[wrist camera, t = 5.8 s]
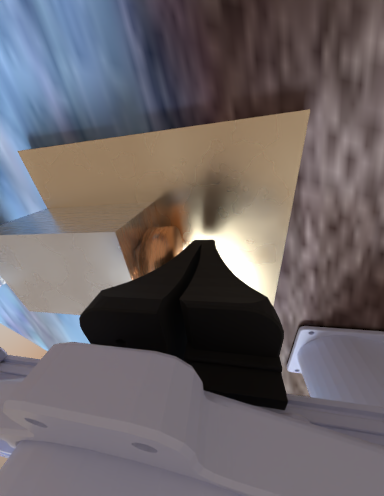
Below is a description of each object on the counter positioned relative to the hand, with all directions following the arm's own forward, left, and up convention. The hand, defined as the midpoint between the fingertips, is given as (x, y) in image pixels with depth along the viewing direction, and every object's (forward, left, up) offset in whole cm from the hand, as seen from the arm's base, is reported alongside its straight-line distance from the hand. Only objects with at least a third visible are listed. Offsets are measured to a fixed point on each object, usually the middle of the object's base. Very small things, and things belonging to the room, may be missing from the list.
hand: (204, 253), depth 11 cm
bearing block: (+4, 0, -3) cm, 5 cm away
